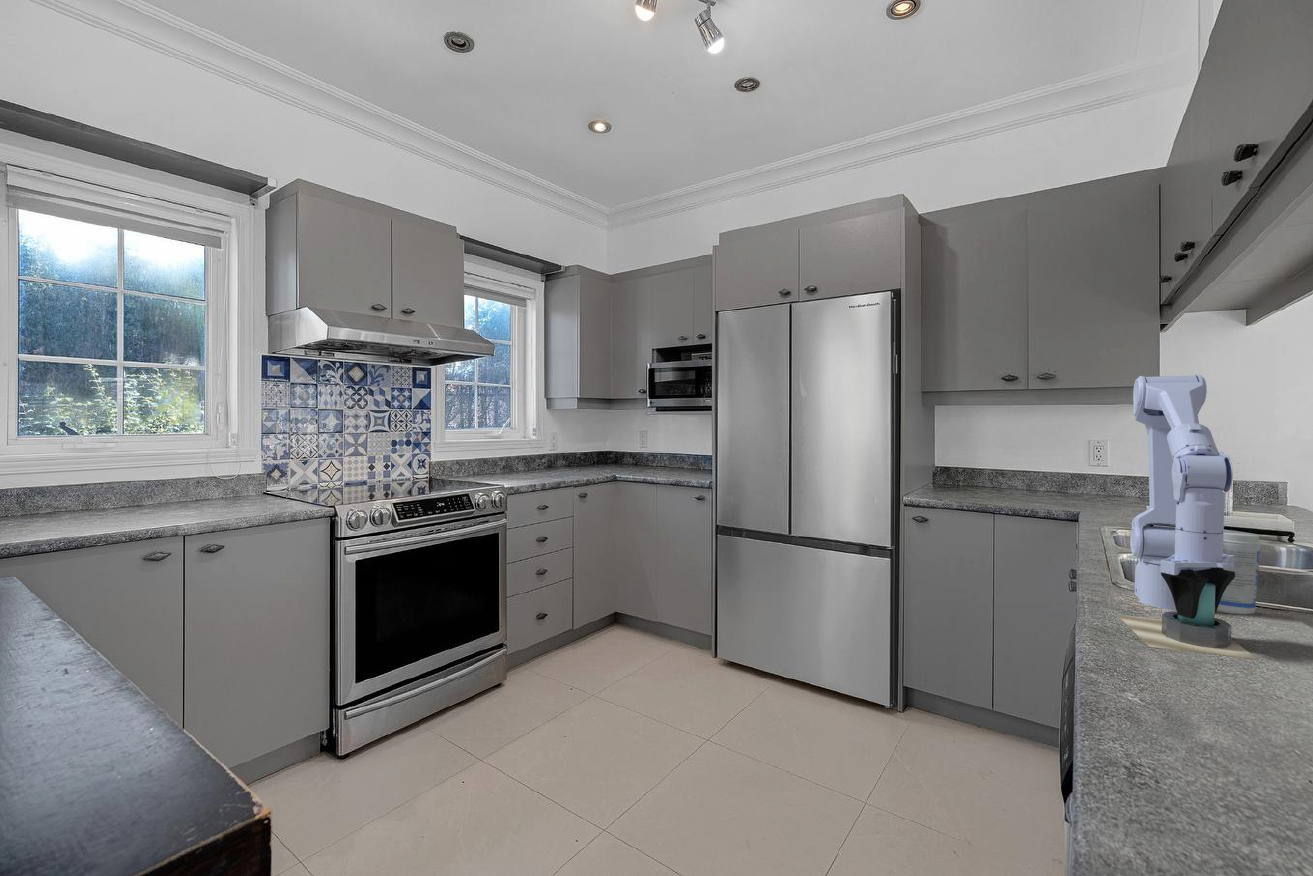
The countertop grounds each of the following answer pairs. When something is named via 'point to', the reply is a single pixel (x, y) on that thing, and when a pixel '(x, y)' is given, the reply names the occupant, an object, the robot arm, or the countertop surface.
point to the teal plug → (1204, 608)
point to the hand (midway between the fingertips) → (1196, 614)
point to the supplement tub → (1241, 572)
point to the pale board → (1155, 638)
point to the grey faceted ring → (1196, 632)
